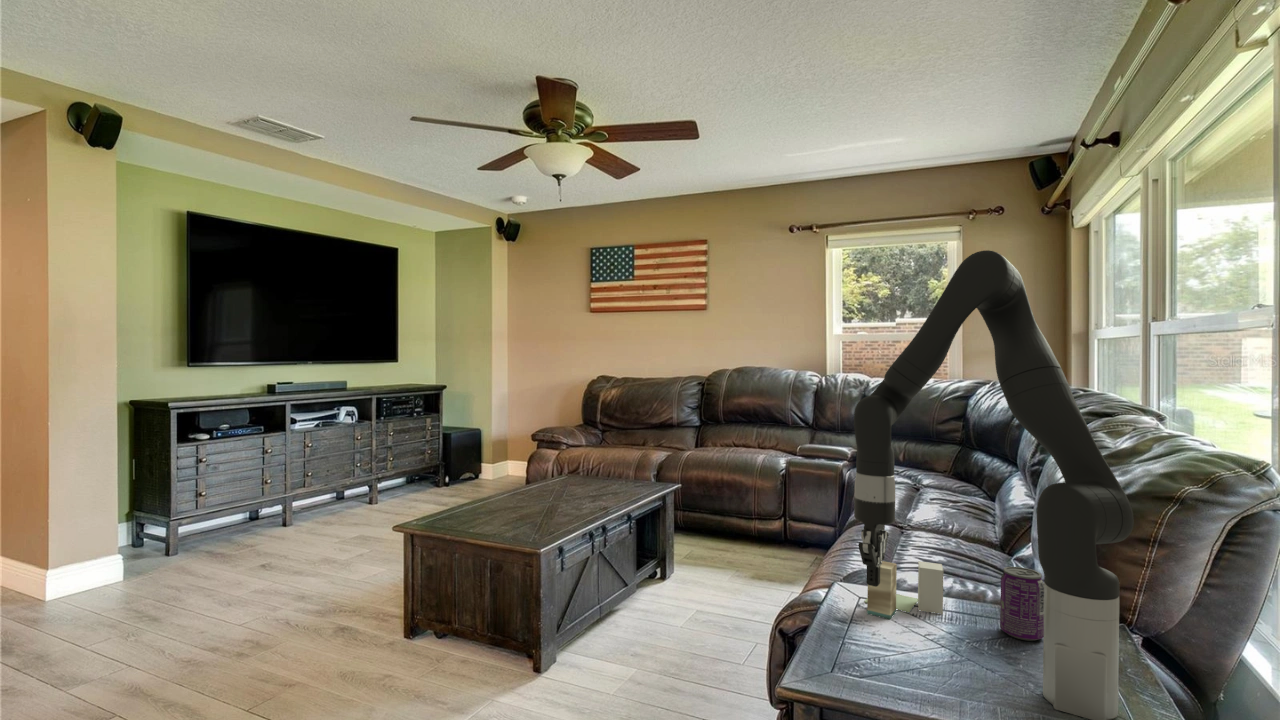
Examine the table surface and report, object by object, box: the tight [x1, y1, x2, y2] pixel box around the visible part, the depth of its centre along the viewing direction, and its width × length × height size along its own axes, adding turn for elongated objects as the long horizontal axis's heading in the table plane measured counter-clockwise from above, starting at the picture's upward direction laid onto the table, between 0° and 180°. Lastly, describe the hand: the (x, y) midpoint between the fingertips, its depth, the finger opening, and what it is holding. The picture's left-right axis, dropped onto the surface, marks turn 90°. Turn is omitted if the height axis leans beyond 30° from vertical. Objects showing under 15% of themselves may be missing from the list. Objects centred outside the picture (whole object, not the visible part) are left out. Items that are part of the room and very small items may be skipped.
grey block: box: [917, 560, 944, 615], centre depth 128 cm, size 4×4×9 cm
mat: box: [863, 593, 918, 613], centre depth 132 cm, size 9×9×1 cm
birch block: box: [866, 560, 898, 620], centre depth 125 cm, size 4×4×10 cm
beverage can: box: [999, 566, 1044, 642], centre depth 116 cm, size 7×7×12 cm
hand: (873, 584), depth 120 cm, fingers closed
